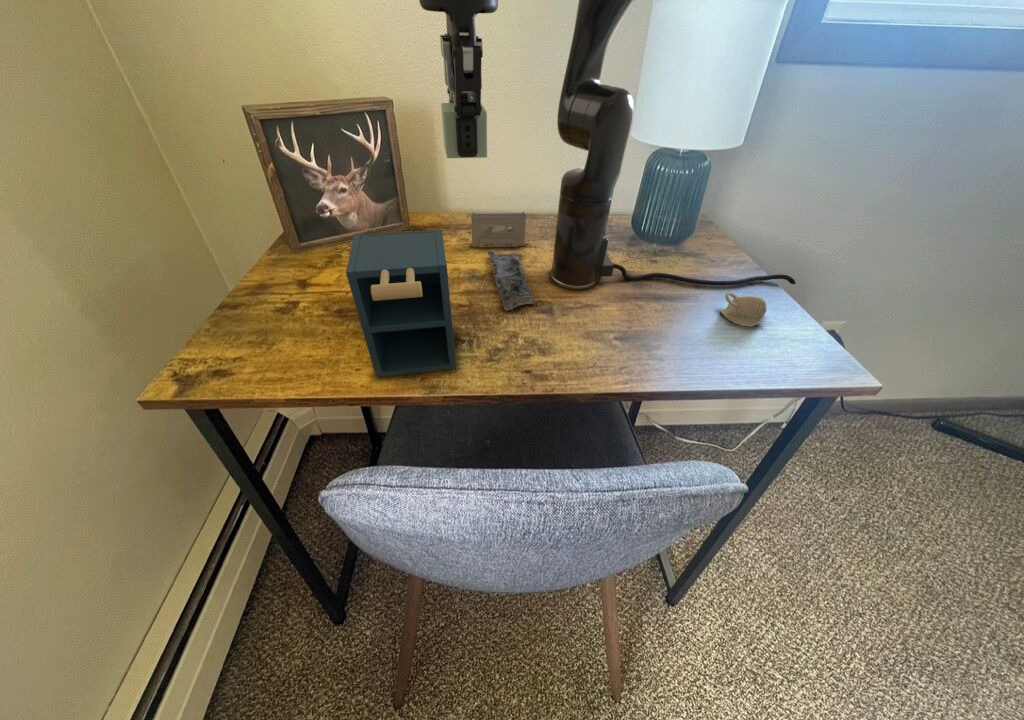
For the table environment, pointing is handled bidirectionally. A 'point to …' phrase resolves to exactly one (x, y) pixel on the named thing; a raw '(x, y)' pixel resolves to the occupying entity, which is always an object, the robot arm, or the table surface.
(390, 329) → the shelf
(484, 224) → the cassette
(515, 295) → the grey cloth
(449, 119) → the block
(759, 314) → the decorative ornament
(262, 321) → the table surface
